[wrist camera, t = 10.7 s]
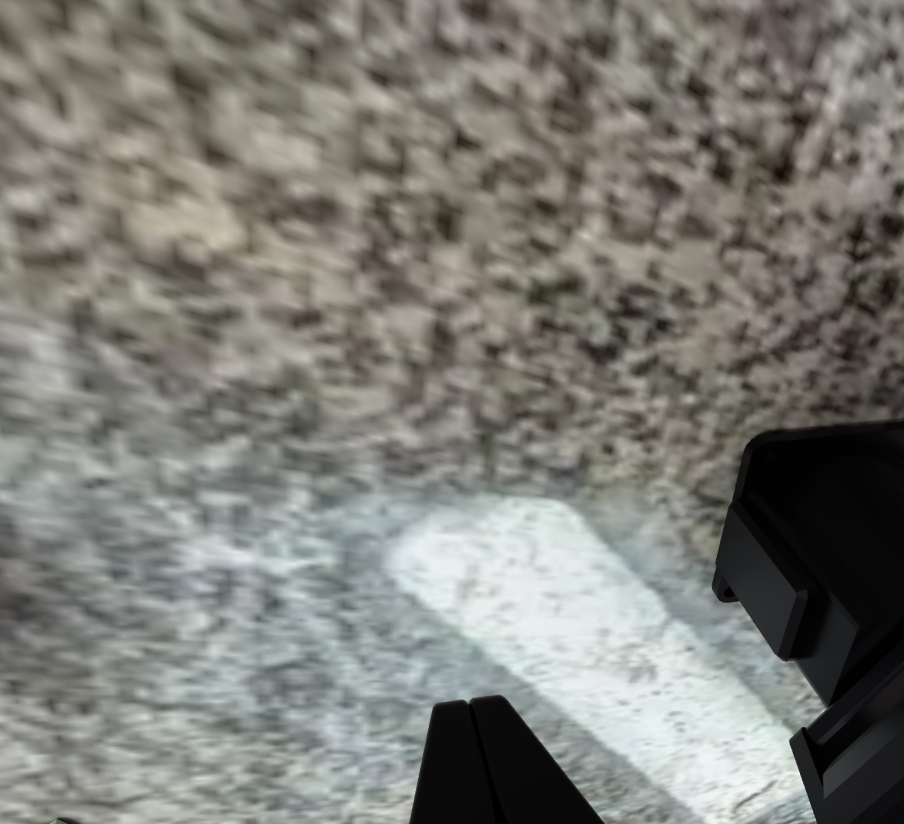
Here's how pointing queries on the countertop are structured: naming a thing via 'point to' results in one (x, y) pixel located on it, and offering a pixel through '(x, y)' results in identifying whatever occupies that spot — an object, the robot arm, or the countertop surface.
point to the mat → (57, 822)
